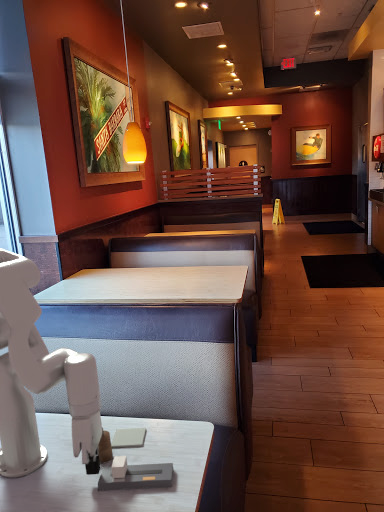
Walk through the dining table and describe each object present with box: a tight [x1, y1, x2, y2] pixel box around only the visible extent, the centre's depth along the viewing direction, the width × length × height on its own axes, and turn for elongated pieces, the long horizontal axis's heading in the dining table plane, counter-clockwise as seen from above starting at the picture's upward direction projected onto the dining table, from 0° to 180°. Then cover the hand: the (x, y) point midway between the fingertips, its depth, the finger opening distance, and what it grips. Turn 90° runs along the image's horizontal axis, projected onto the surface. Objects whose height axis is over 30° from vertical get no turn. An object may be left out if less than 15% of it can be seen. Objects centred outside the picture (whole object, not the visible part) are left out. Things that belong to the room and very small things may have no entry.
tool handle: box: [97, 426, 114, 464], centre depth 110 cm, size 4×4×9 cm
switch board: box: [97, 462, 174, 492], centre depth 101 cm, size 18×6×2 cm, turn 89°
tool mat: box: [111, 427, 147, 449], centre depth 119 cm, size 9×8×1 cm
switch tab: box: [111, 455, 128, 478], centre depth 101 cm, size 3×4×3 cm
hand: (93, 472), depth 101 cm, fingers closed
